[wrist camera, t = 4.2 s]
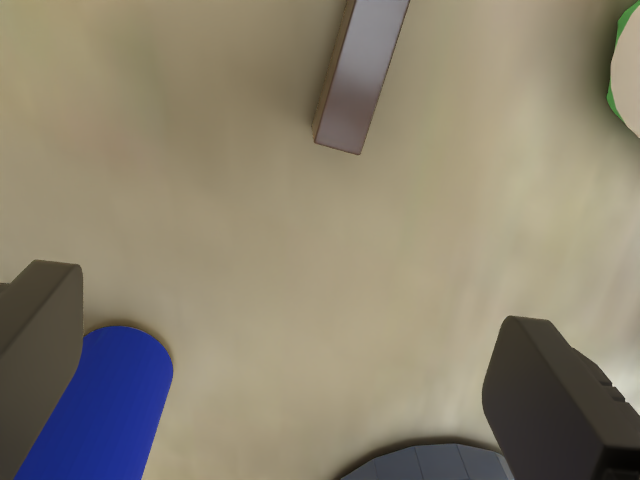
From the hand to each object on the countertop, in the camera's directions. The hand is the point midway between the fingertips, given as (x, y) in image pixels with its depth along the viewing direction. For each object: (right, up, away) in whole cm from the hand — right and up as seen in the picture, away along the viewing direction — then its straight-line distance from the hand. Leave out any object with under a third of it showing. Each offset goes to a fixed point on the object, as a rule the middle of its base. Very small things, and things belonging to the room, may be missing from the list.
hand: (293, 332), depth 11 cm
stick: (+2, +11, +14) cm, 17 cm away
